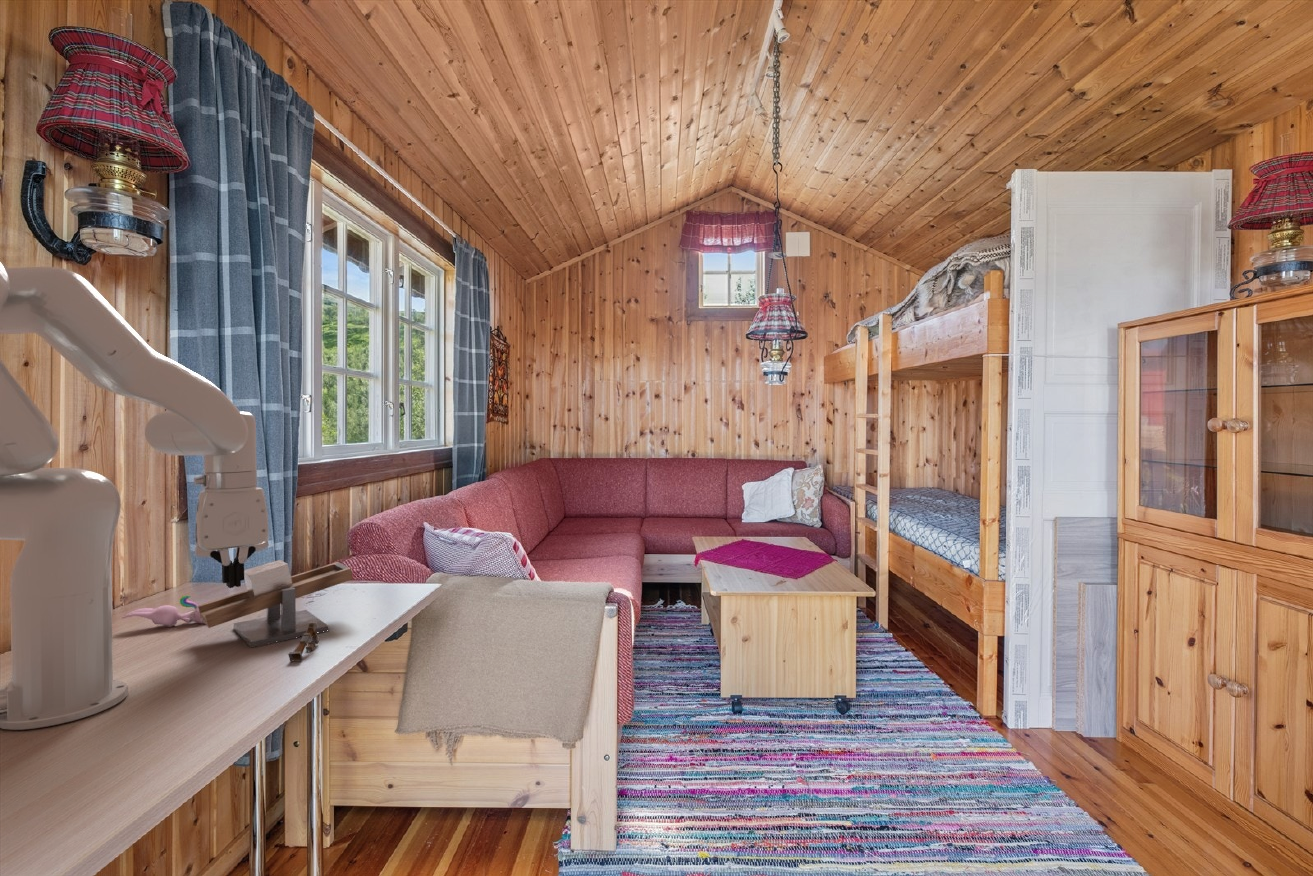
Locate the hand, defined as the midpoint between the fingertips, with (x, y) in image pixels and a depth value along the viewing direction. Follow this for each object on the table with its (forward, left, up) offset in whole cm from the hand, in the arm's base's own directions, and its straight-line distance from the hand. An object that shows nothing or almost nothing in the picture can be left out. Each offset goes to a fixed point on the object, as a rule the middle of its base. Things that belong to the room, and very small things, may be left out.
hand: (233, 585), depth 106 cm
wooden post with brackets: (+7, -17, -10) cm, 20 cm away
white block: (+6, 0, -2) cm, 6 cm away
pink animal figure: (-6, +17, -10) cm, 21 cm away
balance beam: (+7, 0, -3) cm, 8 cm away
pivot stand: (+7, 0, -9) cm, 12 cm away
